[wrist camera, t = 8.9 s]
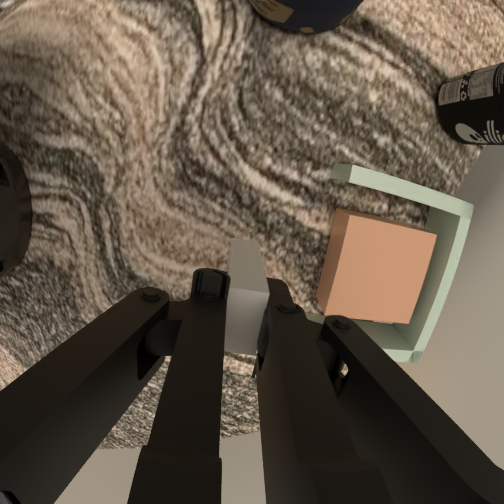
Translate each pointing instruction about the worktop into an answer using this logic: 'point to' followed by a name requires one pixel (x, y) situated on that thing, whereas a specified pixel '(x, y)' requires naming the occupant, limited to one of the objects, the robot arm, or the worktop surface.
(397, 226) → the orange block
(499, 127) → the beverage can
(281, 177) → the worktop surface
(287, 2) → the canister
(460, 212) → the green u-shaped bracket
